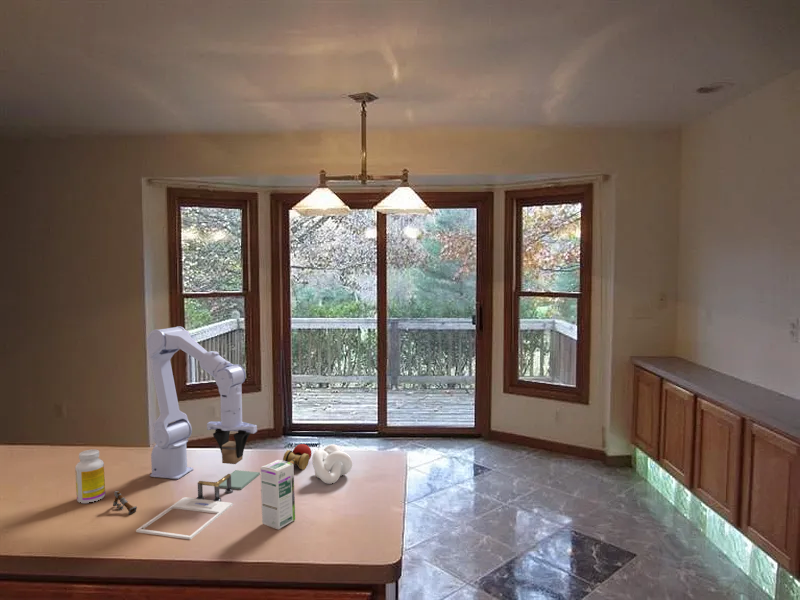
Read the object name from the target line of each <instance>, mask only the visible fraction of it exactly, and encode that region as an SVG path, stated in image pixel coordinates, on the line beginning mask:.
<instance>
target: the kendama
mask: <svg viewBox="0 0 800 600" xmlns="http://www.w3.org/2000/svg"><path fill="white" fill-rule="evenodd" d="M311 457H312V450H311V448H310V446H308V445H307V444H305V443H300V444H298V445H296V446H295V447H294V448H293V450H290V449H289V450H286V451H285V453H284V454H283V458H282V460H283V461H287V462H290V463H293V465H294V466H295V464H296V465H297V466H298V468H299V470H302V471H304V470H305V469H306V468H307V467H308V464H309V463H310V459H311Z"/></svg>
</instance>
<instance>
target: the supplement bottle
mask: <svg viewBox="0 0 800 600" xmlns="http://www.w3.org/2000/svg"><path fill="white" fill-rule="evenodd" d="M78 459H79V462H77V464H76V465H75V467H74V468H75V484H76V485H75V489H76V501H77V502H78V503H80V502H81V503H80V504H90V503H89V502H93V503H95V502H94V501H96V502H98V500H99V501H100V499H101V500H102V499H103V498H105V496H106V483H105V482H106V480H105V463H104V461H103V459H101V458H100V450H98V449H87V450H82V451H81V452H79V454H78Z"/></svg>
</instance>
